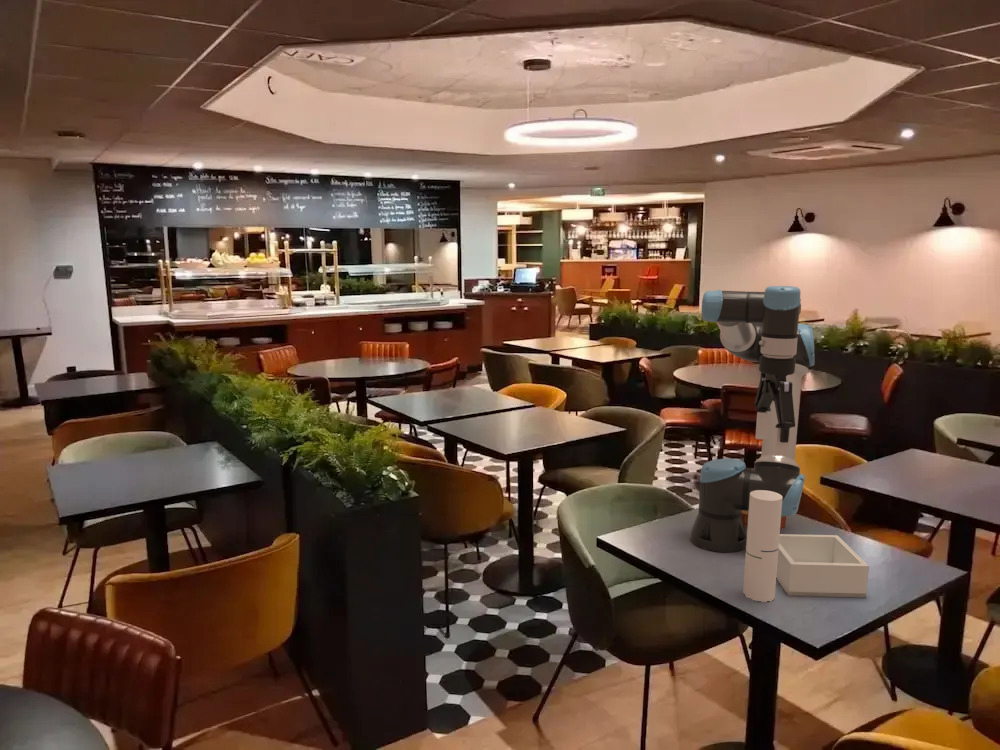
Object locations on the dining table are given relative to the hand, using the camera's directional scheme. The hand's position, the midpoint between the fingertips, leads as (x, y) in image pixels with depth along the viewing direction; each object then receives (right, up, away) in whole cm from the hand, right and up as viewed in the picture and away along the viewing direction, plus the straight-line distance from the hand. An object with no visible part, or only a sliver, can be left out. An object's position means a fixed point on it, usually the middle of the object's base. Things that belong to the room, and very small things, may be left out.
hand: (771, 447), depth 165 cm
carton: (+14, -28, +51) cm, 60 cm away
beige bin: (+16, -35, +15) cm, 41 cm away
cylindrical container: (0, -36, +7) cm, 37 cm away
